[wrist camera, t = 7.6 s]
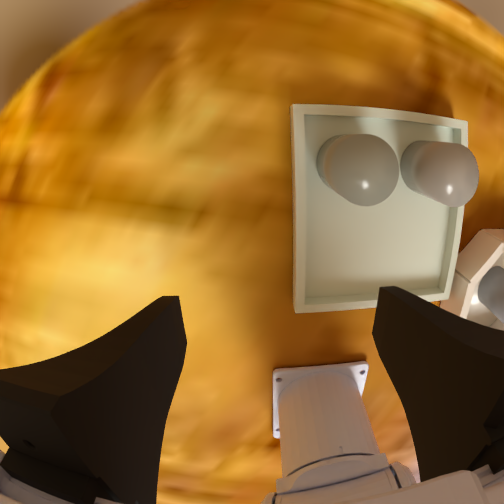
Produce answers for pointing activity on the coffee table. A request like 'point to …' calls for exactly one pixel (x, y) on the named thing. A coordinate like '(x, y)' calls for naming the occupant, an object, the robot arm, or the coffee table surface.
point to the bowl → (475, 277)
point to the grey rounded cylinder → (493, 291)
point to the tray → (368, 216)
